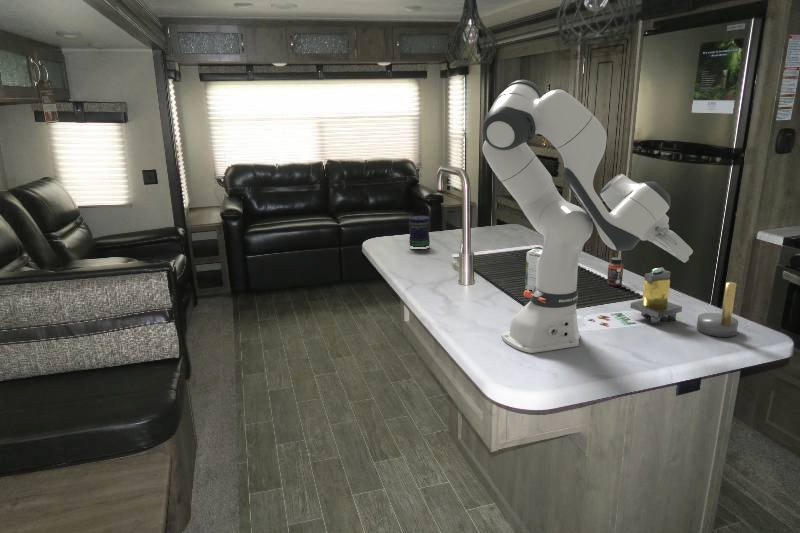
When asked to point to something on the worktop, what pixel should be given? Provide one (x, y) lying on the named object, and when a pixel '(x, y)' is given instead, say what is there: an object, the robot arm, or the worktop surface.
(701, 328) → the footscrew knob
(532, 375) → the worktop surface
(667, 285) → the stand
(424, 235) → the storage jar
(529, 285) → the syrup box
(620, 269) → the supplement bottle
